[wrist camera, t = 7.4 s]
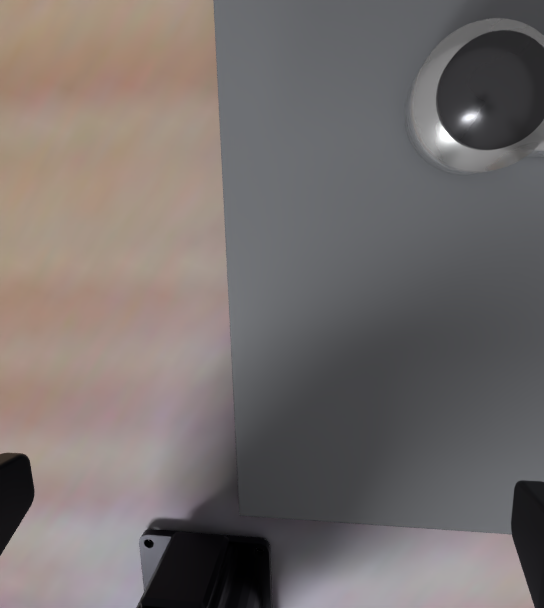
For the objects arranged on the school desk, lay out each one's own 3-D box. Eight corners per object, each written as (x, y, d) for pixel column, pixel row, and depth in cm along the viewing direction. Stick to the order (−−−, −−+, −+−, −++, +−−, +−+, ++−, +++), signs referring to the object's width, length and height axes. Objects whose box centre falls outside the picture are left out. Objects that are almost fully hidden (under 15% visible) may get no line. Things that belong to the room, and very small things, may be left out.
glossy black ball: (538, 149, 14) (550, 146, 14) (431, 154, 15) (435, 151, 14) (549, 35, 14) (561, 25, 13) (435, 43, 14) (441, 34, 13)
